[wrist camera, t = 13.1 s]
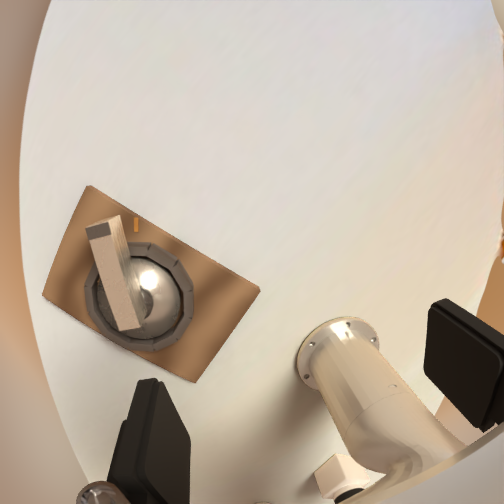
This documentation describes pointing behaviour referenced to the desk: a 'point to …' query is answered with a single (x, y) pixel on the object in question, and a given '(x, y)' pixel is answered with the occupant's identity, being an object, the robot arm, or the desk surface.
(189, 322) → the dial base
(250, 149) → the desk surface
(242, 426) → the desk surface
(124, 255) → the dial
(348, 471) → the medicine bottle
